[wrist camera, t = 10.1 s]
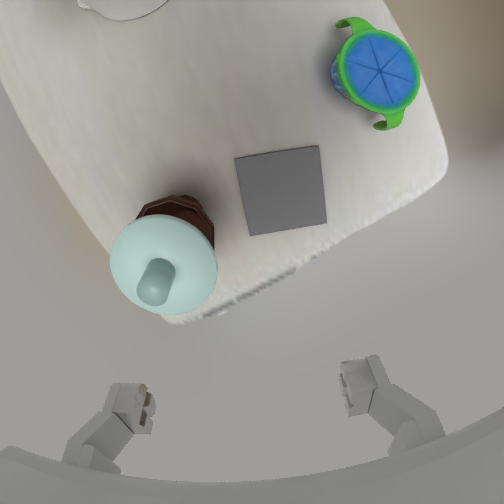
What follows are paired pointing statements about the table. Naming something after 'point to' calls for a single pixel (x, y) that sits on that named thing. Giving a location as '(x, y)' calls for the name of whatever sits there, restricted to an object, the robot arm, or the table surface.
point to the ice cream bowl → (182, 213)
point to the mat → (282, 190)
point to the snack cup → (376, 72)
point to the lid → (164, 264)
